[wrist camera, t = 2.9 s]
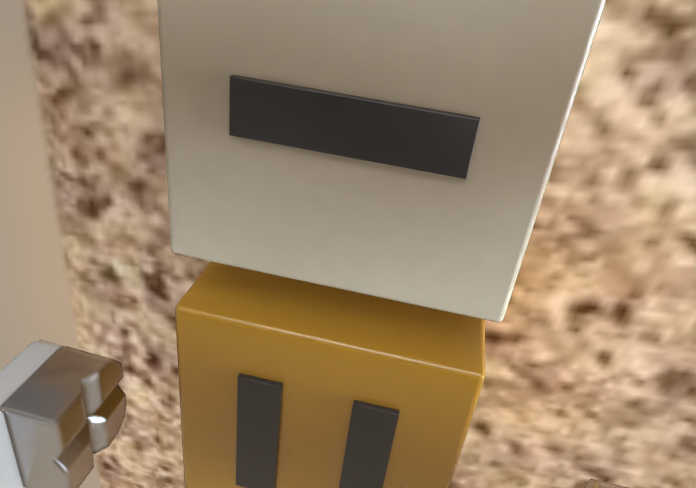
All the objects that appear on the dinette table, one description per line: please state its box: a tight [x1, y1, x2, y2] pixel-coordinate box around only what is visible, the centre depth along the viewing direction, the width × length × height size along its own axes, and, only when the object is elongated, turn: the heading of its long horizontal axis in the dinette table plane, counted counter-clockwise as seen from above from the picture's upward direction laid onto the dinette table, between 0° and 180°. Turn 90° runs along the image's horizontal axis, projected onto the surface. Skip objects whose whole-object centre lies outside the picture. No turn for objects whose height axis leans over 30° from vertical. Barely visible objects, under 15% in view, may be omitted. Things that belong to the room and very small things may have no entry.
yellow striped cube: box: [175, 262, 485, 488], centre depth 11 cm, size 5×5×5 cm
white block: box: [157, 0, 606, 322], centre depth 8 cm, size 5×5×5 cm
